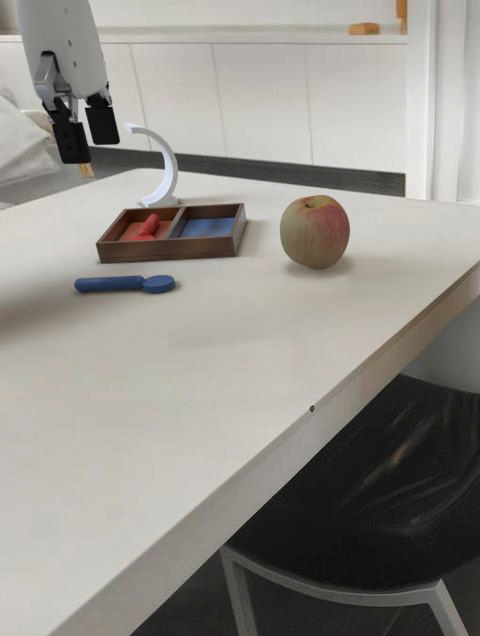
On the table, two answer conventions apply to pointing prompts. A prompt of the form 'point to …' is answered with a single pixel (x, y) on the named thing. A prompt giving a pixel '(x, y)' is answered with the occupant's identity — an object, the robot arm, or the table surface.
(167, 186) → the headphone stand
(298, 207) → the apple
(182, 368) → the table surface
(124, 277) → the blue spoon
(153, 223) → the red spoon
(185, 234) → the tray
